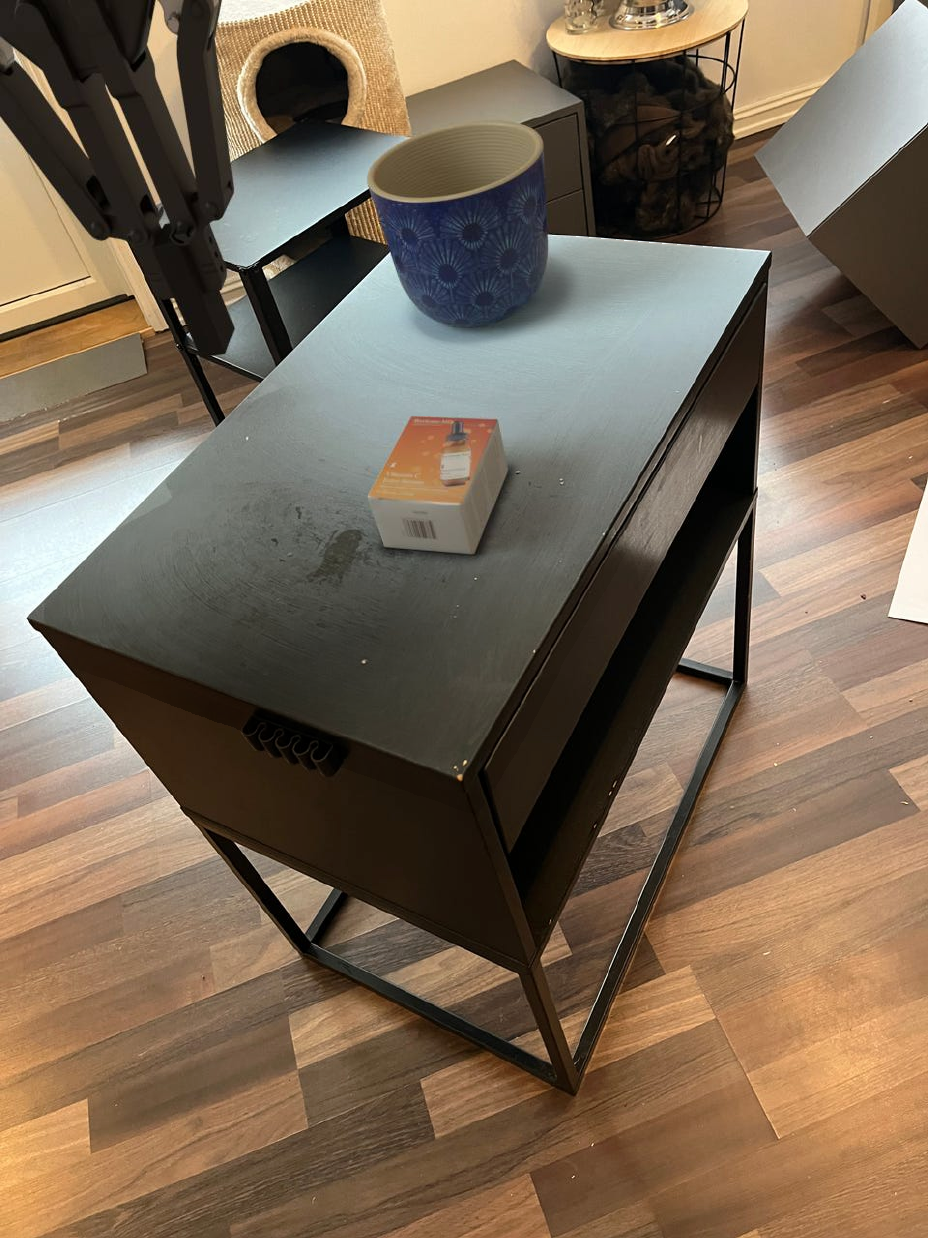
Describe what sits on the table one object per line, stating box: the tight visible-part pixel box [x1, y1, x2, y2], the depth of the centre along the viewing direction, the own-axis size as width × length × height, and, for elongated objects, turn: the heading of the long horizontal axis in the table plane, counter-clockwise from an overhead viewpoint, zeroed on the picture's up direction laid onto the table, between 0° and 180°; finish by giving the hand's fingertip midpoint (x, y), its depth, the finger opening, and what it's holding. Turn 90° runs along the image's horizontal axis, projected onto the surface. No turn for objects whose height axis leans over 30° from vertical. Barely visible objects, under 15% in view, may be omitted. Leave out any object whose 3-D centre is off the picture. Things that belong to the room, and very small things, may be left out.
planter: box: [366, 119, 549, 328], centre depth 93 cm, size 17×17×15 cm
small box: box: [367, 415, 509, 555], centre depth 75 cm, size 8×6×10 cm
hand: (217, 342), depth 53 cm, fingers closed
